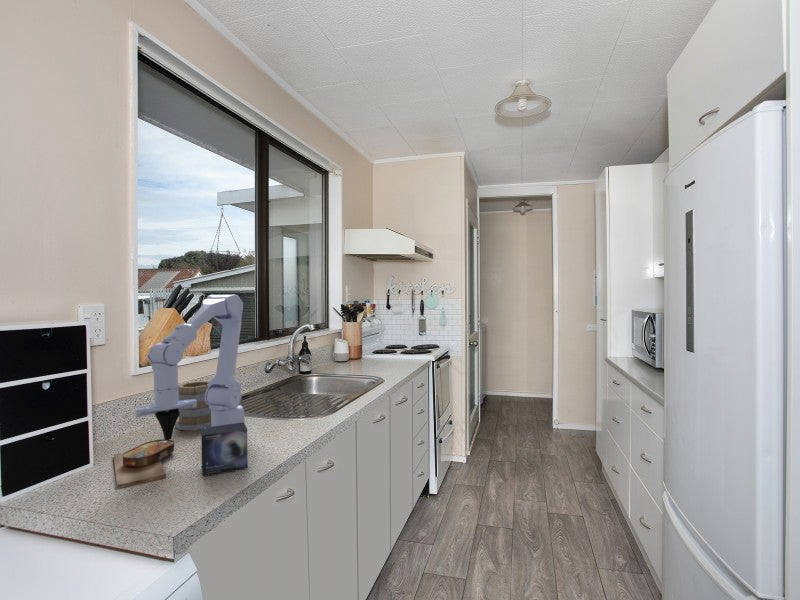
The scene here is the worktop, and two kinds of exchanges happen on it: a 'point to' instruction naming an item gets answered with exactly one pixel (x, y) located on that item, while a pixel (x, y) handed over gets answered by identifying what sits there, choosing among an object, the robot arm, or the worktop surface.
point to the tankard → (194, 416)
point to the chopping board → (136, 472)
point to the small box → (224, 448)
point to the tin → (148, 453)
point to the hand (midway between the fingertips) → (167, 438)
